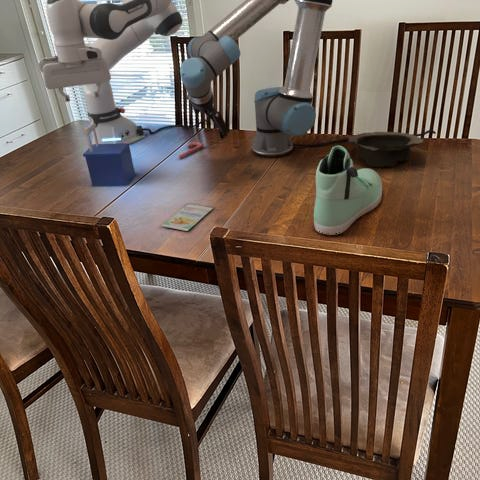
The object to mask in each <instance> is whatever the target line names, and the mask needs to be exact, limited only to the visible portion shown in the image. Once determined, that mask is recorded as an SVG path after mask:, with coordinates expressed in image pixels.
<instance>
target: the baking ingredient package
mask: <svg viewBox="0 0 480 480" xmlns="http://www.w3.org/2000/svg"><path fill="white" fill-rule="evenodd" d="M213 209H214V207H210V206H203V205H197V204H192V203H188V204H186V205H185V206H183V208H181V209H180V210H179V211H178V212H176V213H175V214H174V215H171V217H170V218H168V219H167V220H166V221H165V222H164V223H162V225H160V226H161V227H165V228H169V229H175V230H179V231H186V232H188V231H189V230H190V229H192V228H193V227H194V226H195V225H196V224H197V223H198V222H199V221H201V219H203V218H204V217H205V216H206V215H207V214H208V213H210V212H211V211H212V210H213Z"/></svg>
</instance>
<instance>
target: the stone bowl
mask: <svg viewBox="0 0 480 480" xmlns="http://www.w3.org/2000/svg"><path fill="white" fill-rule="evenodd" d="M348 138H349V140H348V141H347V143H348V144H351V145H353V146H356V150H357V151H356V152H357V154H358V155H360V157H361V159H363V160H364V161H366V164H367V166H368V167H372V168H375V167H376V168H385V167H394V166H396V165H397V164H398V162H406V161H408V160H409V158H410V151H411V148H413V147H416V146H419V145H420V144H422V143H424V142H425V141H424V139H422V138H420V136H418V137H417V136H414V135H411V133H407V132H397V131H373V132H362V133H358V134H353V135H351V136H349V137H348Z"/></svg>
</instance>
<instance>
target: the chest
mask: <svg viewBox="0 0 480 480" xmlns="http://www.w3.org/2000/svg"><path fill="white" fill-rule="evenodd" d="M84 158H85V162H86V167H87V170H88V173H89V179H90V182H91V185H92V187H118V186H120V187H122V186H123V187H127V186H128V184H130V182H131V181H132V179H133V178H134V177H135V175H136V172H135V167H134V163H133V157H132V152H131V148H130V146H129V147H128V148H127V149H126V150H125V151H124V152H123V154H122V155H121V156H96V157H84Z"/></svg>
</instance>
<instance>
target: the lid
mask: <svg viewBox="0 0 480 480" xmlns="http://www.w3.org/2000/svg"><path fill="white" fill-rule="evenodd" d="M95 128H96V124H94V123H91V124H90V123H89V124H88V126H86V127H85V128H84V129H83V133H84V134H85V135H86V139H87V143H88V148H87V149H86V151H84V152H83V153H82V156H83V157H84V158H85V157H96V156H121V155H122V154H123V152H124V151H125V150H126V149H127V148H128V147H130V144H129V143H120V144H98V140H97V136H96V131H95ZM92 131H93V134H94V139H95V143H96V144H93V145H92V141H91V140H92V139H91V136H90V134H91V133H92Z"/></svg>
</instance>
